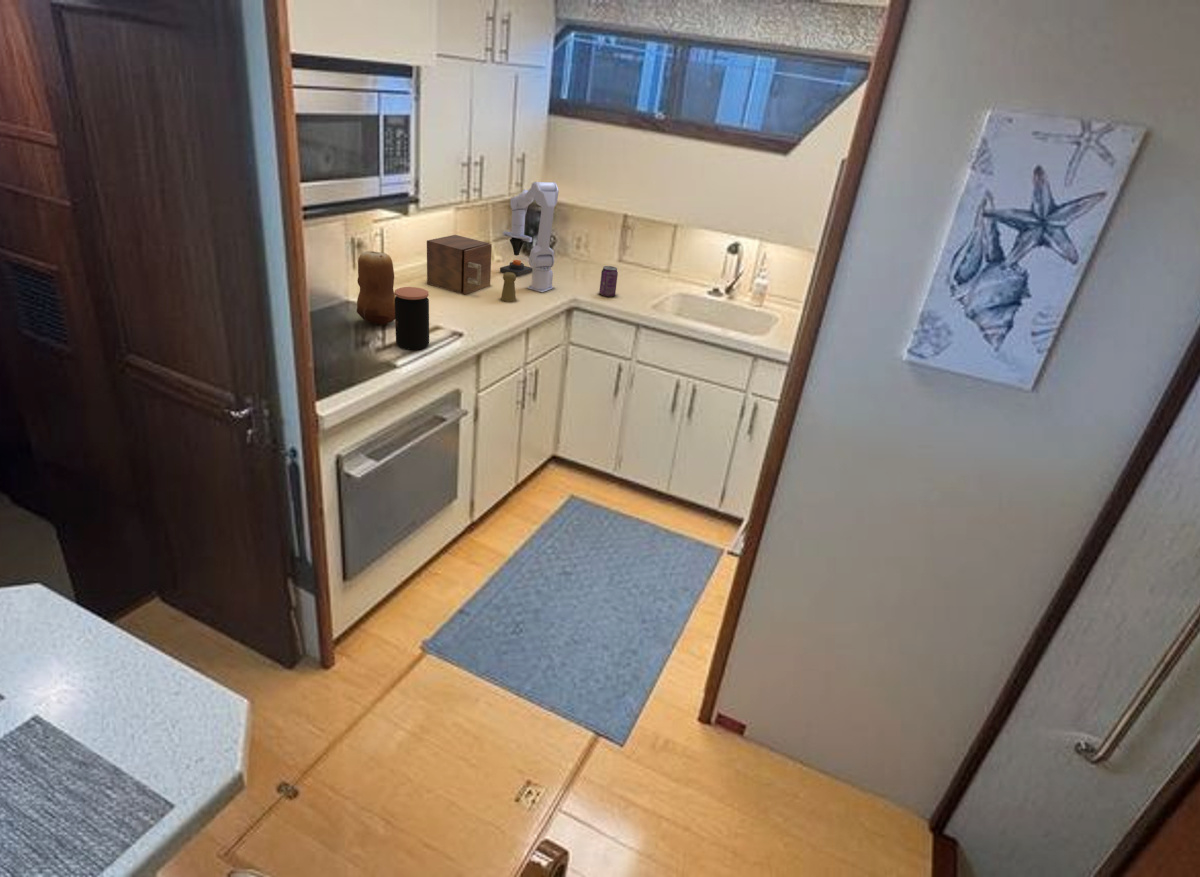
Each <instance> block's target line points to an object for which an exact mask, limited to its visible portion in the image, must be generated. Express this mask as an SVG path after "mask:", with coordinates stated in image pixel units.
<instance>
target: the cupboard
mask: <svg viewBox="0 0 1200 877" xmlns="http://www.w3.org/2000/svg"><path fill="white" fill-rule="evenodd" d="M487 244H490V243H489V242H486V241H483V240H478V239H474V238H470V237H466V236H462V235H459V234H452V235H447V236H442V237H438V238H432V239H428V240H426V284H427V285H429V286H434V287H438V288H440V289H444V290H447V291H451V292H454V293H458V294H463V289H464V251H465V250H468V249H472V248H476V247H480V246H483V245H487Z"/></svg>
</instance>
